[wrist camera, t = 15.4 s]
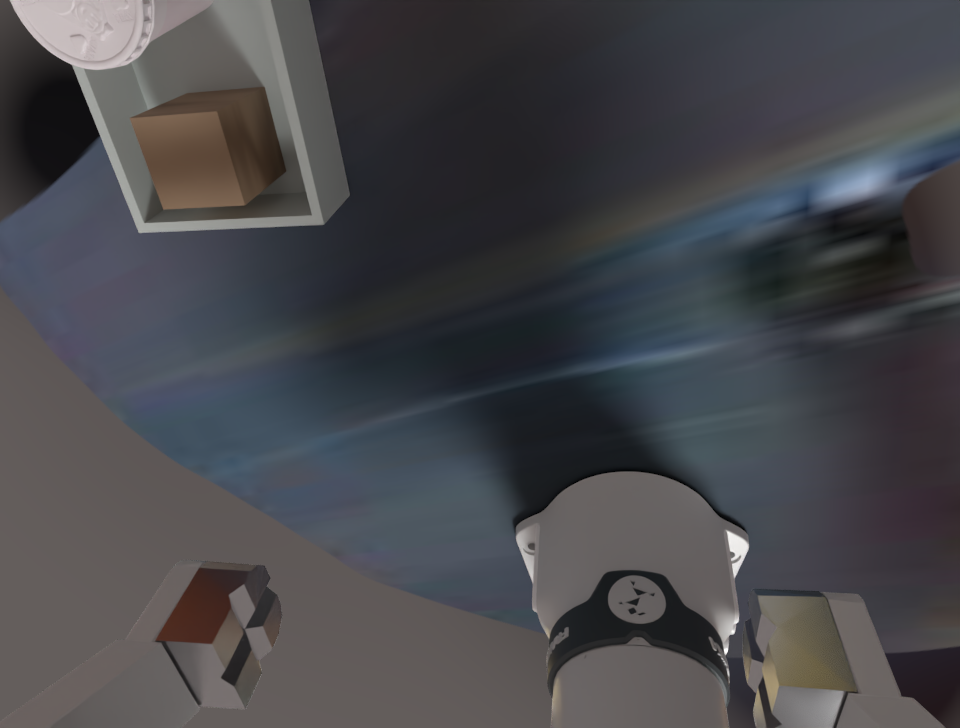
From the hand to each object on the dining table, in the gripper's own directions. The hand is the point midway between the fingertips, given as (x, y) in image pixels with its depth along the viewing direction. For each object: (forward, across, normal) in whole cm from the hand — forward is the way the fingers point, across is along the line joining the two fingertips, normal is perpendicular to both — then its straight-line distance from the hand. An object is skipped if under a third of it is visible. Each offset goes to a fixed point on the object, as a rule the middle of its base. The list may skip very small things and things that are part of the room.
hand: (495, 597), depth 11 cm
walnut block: (+32, +20, 0) cm, 38 cm away
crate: (+33, +20, -5) cm, 39 cm away
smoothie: (+32, +20, -9) cm, 39 cm away
